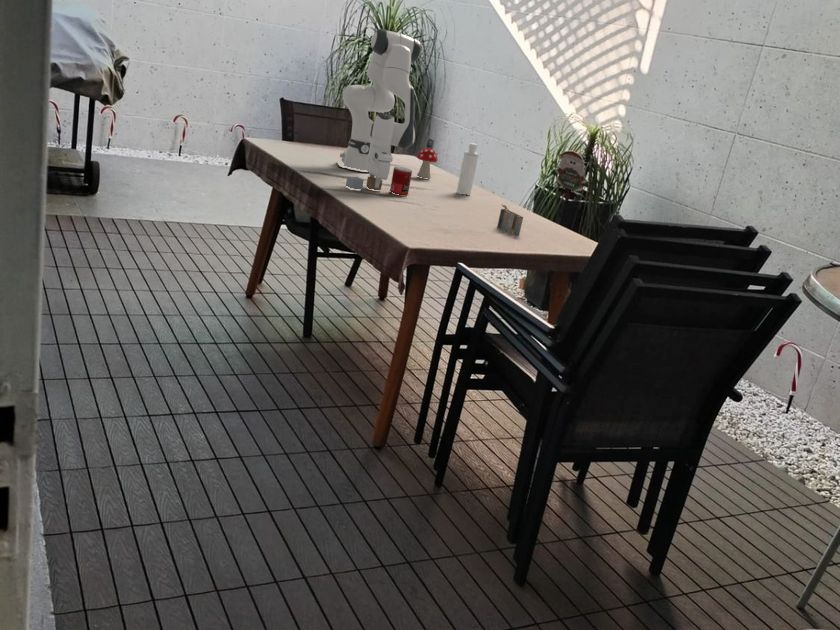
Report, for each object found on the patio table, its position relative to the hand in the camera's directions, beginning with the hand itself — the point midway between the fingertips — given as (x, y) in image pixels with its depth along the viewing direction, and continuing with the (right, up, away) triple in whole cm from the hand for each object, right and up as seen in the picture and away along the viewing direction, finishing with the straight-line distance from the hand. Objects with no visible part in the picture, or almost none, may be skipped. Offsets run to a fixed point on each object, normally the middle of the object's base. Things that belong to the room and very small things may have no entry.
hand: (373, 185), depth 344 cm
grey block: (-8, -3, -7) cm, 11 cm away
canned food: (+10, -3, +3) cm, 11 cm away
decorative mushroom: (+21, +12, +56) cm, 61 cm away
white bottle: (+40, +1, +34) cm, 53 cm away
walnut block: (0, -2, +1) cm, 2 cm away
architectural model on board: (+54, -23, -28) cm, 65 cm away
